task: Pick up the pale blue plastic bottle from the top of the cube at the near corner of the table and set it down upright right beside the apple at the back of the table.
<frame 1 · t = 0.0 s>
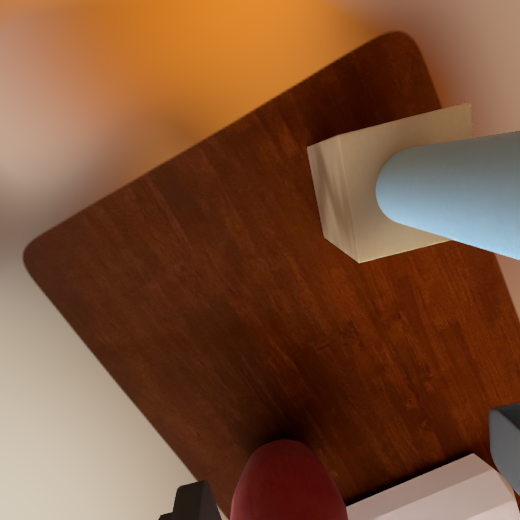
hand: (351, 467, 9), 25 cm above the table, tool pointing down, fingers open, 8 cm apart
cube: (359, 182, 32), on the table
apple: (278, 453, 40), on the table
crystal: (407, 495, 43), on the table
bottle: (412, 186, 22), point 10 cm above the table, touching cube
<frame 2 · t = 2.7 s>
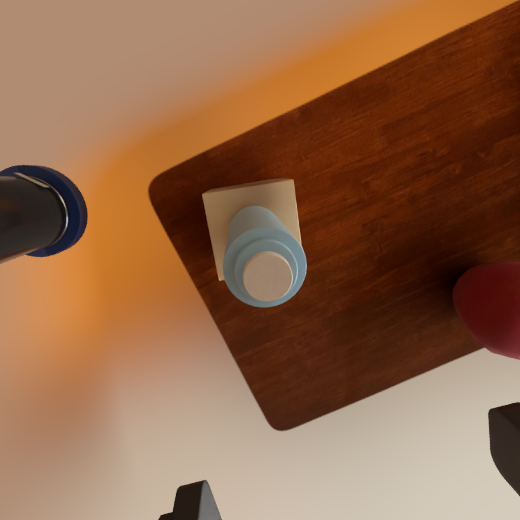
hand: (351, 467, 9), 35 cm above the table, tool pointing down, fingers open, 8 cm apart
cube: (251, 218, 42), on the table
apple: (471, 287, 47), on the table
bottle: (254, 231, 32), point 10 cm above the table, touching cube
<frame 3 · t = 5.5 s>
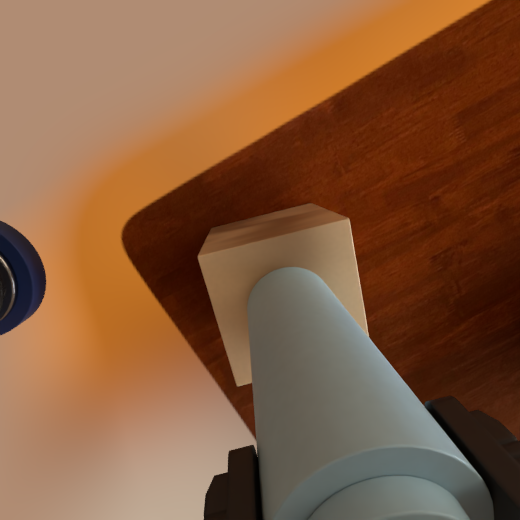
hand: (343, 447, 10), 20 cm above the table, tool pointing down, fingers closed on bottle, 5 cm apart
cube: (272, 263, 29), on the table
bottle: (289, 307, 20), point 10 cm above the table, touching gripper, cube
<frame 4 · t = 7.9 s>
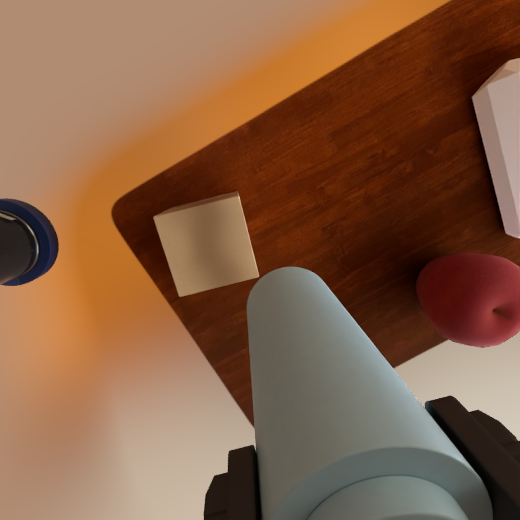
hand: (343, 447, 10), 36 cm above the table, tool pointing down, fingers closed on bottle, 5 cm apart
cube: (213, 232, 44), on the table
apple: (435, 279, 48), on the table
crystal: (509, 157, 45), on the table
bottle: (289, 307, 20), point 26 cm above the table, touching gripper
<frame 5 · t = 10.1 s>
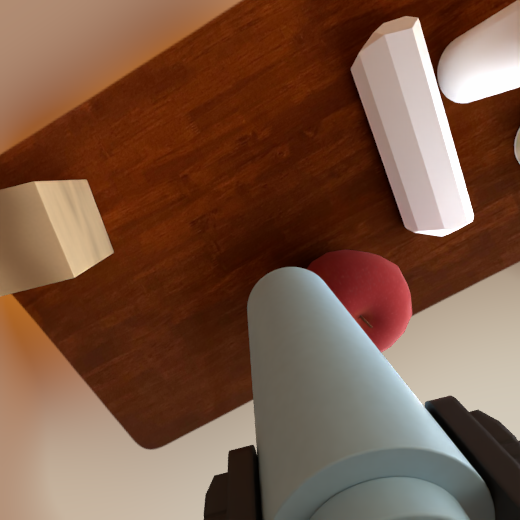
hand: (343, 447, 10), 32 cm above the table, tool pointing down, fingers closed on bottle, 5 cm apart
cube: (64, 226, 39), on the table
apple: (330, 279, 43), on the table
crystal: (404, 140, 39), on the table
cylindrical container: (466, 69, 37), on the table
bottle: (289, 307, 20), point 22 cm above the table, touching gripper
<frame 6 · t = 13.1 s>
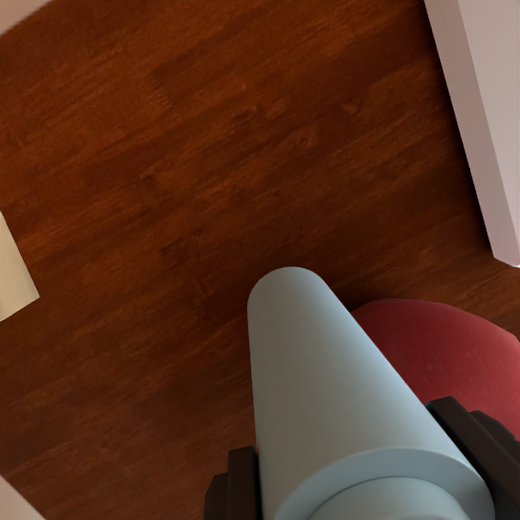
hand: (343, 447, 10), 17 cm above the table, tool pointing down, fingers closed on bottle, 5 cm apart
apple: (373, 333, 28), on the table
crystal: (500, 120, 24), on the table
bottle: (289, 307, 20), point 7 cm above the table, touching gripper
when the fingers open (10 cm above the table, at t = 15.1 s): bottle stays where it is, on the table.
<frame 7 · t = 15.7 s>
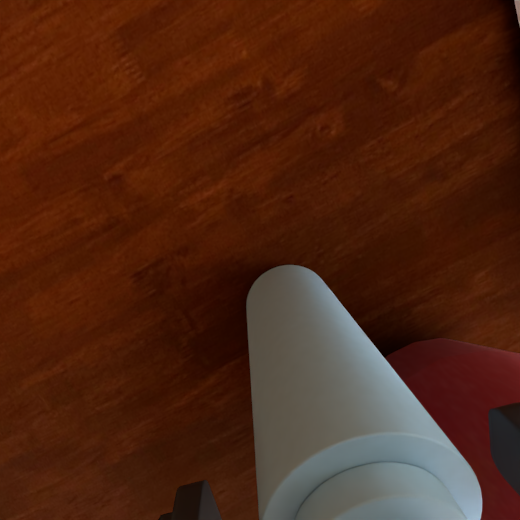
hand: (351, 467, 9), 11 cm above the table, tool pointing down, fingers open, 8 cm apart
apple: (410, 377, 22), on the table
bottle: (288, 305, 20), on the table
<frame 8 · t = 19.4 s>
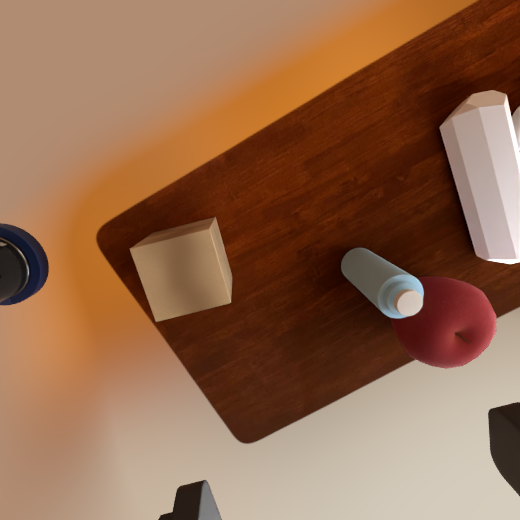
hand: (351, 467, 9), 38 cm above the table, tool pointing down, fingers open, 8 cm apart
cube: (193, 255, 46), on the table
apple: (409, 298, 50), on the table
crystal: (478, 183, 46), on the table
bottle: (358, 264, 48), on the table
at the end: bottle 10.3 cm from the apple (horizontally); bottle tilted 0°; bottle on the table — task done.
